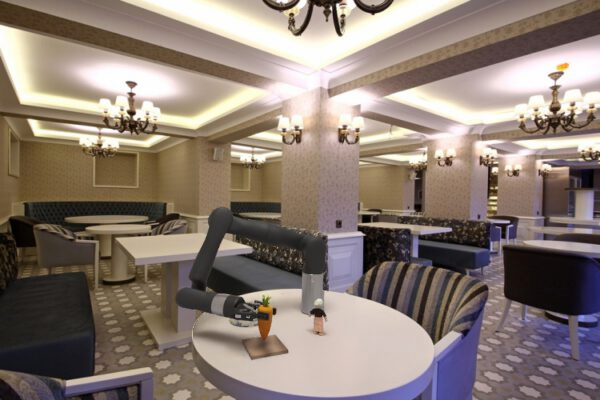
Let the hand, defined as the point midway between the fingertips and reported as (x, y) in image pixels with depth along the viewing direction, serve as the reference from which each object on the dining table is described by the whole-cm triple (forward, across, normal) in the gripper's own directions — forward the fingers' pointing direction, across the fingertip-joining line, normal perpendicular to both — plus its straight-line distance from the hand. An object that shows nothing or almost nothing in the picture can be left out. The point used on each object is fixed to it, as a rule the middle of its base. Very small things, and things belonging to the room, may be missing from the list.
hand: (272, 314), depth 102 cm
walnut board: (-2, 0, +12) cm, 12 cm away
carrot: (-3, 0, +9) cm, 10 cm away
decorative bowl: (-19, +18, +12) cm, 29 cm away
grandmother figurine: (+10, +18, +12) cm, 24 cm away
